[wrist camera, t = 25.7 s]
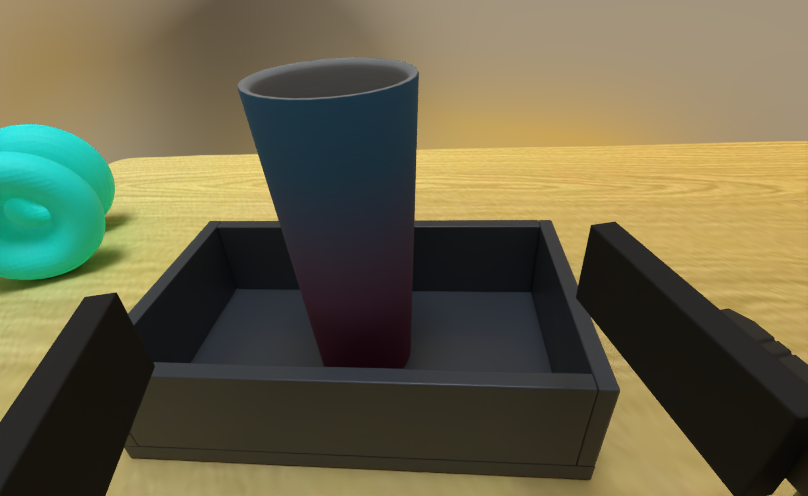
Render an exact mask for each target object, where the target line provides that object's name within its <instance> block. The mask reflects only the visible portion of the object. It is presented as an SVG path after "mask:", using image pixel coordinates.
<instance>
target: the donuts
mask: <svg viewBox="0 0 808 496" xmlns="http://www.w3.org/2000/svg"><path fill="white" fill-rule="evenodd" d="M114 194H115V184H114V178H113V175H112V172H111V170H110V168H109V166H108V164H107V163H106V161H105V160H104V158H103V157H102V156H101V155H100V154H99V153H98V152H97V151H96V150H95V149H94V148H93V147H92V146H91V145H89V144H88V143H87V142H85V141H84V140H82V139H81V138H79V137H77V136H75V135H73V134H71V133H69V132H66V131H63V130H61V129H58V128H54V127H50V126H44V125H35V124H24V125H23V124H22V125H13V126H8V127H4V128H1V129H0V277H2V278H8V279H17V280H36V279H45V278H50V277H54V276H58V275H61V274H64V273H67V272H69V271H72V270H74V269H75V268H77V267H79V266H81V265H82V264H83V263H85V262H86V261H87V260H88V259H89V258H90V257H91V256H92V255H93V254H94V253H95V252H96V251H97V249H98V248H99V246H100V244H101V242H102V240H103V237H104V233H105V227H106V220H105V215H106V214H107V212H108V211H109V209H110V207H111V205H112V202H113V199H114Z"/></svg>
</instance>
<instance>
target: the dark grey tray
mask: <svg viewBox="0 0 808 496" xmlns="http://www.w3.org/2000/svg"><path fill="white" fill-rule="evenodd" d="M577 289H578V285H577V283H576V280H575V278H574V275H573V273H572V270H571V268H570V265H569V263H568V261H567V258H566V256H565V253H564V251H563V248H562V246H561V243H560V241H559V238H558V236H557V233H556V231H555V228H554V226H553V224H552V221H551V220H539V221H538V220H449V221H414V249H413V283H412V318H411V350H410V357H409V359H408V361H407V363H406V365H405V366H404V368H403V369H391V368H354V367H324V364H323V361H322V358H321V355H320V352H319V349H318V345H317V342H316V339H315V336H314V332H313V329H312V326H311V323H310V320H309V316H308V313H307V310H306V307H305V303H304V300H303V297H302V294H301V291H300V287H299V284H298V281H297V278H296V274H295V271H294V268H293V265H292V262H291V258H290V255H289V252H288V249H287V245H286V242H285V239H284V236H283V233H282V229H281V226H280V223H279V221H222V222H221V221H210V222H209V223H208V224H207V225H206V226H205V227H204V229H203V230H202V231H201V232H200V233H199V234H198V235H197V236H196V238H195V239H194V240H193V241H192V242H191V243H190V244H189V246H188V247H187V248H186V249H185V250H184V251H183V252H182V253H181V255H180V256H179V257H178V258H177V259H176V260H175V261H174V262H173V264H172V265H171V266H170V267H169V268H168V269H167V270H166V272H165V273H164V274H163V275H162V276H161V277H160V278H159V279H158V281H157V282H156V283H155V284H154V285H153V286H152V287H151V288H150V290H149V291H148V292H147V293H146V294H145V295H144V296H143V298H142V299H141V300H140V301H139V302H138V303H137V304H136V305H135V307H134V308H133V309H132V310H131V311H130V312H129V313H128V315H129V317H130V319H131V321H132V323H133V325H134V327H135V329H136V331H137V332H138V334H139V336H140V338H141V340H142V342H143V344H144V346H145V348H146V350H147V351H148V353H149V355H150V357H151V359H152V361H153V363H154V365H155V368H154V370H153V373H152V376H151V378H150V381H149V383H148V386H147V389H146V391H145V394H144V396H143V399H142V402H141V404H140V407H139V409H138V412H137V415H136V417H135V420H134V422H133V425H132V428H131V430H130V433H129V435H128V438H127V441H126V443H125V446H124V448H125V449H126V451H127V452H128V454H129V455H130V457H131V458H151V459H172V460H193V461H214V462H235V463H256V464H277V465H298V466H319V467H340V468H362V469H383V470H404V471H425V472H446V473H467V474H488V475H509V476H530V477H551V478H572V479H591V477H592V474H593V471H594V468H595V464H596V461H597V458H598V455H599V452H600V449H601V446H602V443H603V440H604V437H605V434H606V431H607V428H608V425H609V422H610V419H611V416H612V413H613V410H614V408H615V405H616V402H617V399H618V396H619V393H620V389H619V386H618V384H617V381H616V379H615V376H614V374H613V371H612V369H611V366H610V364H609V362H608V359H607V357H606V354H605V352H604V349H603V347H602V344H601V342H600V339H599V337H598V334H597V332H596V330H595V327H594V325H593V322H592V320H591V317H590V315H589V314H588V312H587V311H586V310H585V309H584V307H583V306H582V305H581V304H580V302H579V301H578V300H577V299H576V294H577Z"/></svg>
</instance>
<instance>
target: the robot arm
mask: <svg viewBox="0 0 808 496" xmlns="http://www.w3.org/2000/svg"><path fill="white" fill-rule="evenodd" d="M576 299H577V300H578V301H579V302H580V304H581V305H582V306H583V307H584V309H585V310H586V311H587V312H588V314H589V315H590V316H591V317H592V319H593V320H594V321H595V322H596V324H597V325H598V326H599V327H600V329H601V330H602V331H603V332H604V334H605V335H606V336H607V337H608V339H609V340H610V341H611V343H612V344H613V345H614V346H615V348H616V349H617V350H618V351H619V353H620V354H621V355H622V356H623V358H624V359H625V360H626V361H627V363H628V364H629V365H630V366H631V368H632V369H633V370H634V371H635V373H636V374H637V375H638V376H639V378H640V379H641V380H642V381H643V383H644V384H645V385H646V386H647V388H648V389H649V390H650V391H651V393H652V394H653V395H654V396H655V398H656V399H657V400H658V401H659V403H660V404H661V405H662V406H663V408H664V409H665V410H666V411H667V413H668V414H669V415H670V417H671V418H672V419H673V420H674V422H675V423H676V424H677V425H678V427H679V428H680V429H681V430H682V432H683V433H684V434H685V435H686V437H687V438H688V439H689V440H690V442H691V443H692V444H693V445H694V447H695V448H696V449H697V450H698V452H699V453H700V454H701V455H702V457H703V458H704V459H705V460H706V462H707V463H708V464H709V465H710V467H711V468H712V469H713V470H714V472H715V473H716V474H717V475H718V477H719V478H720V479H721V480H722V482H723V483H724V484H725V485H726V487H727V488H728V489H729V491H730V492H731V493H732V494H733V496H768V495H772V494H773V493H774V491H775V490H776V489H777V488H778V486H779V485H780V484H781V482H782V481H783V480H784V479H785V478H786V479H787V480H788V481H789V482H790V483H791V484H792V485H793V487H794V488H795V489H796V490H797V492H796V493H795V494H794V495H793V496H808V364H806V363H805V362H804V361H803V360H801V359H800V358H799V357H798V356H796V355H792V354H791V351H790V350H789V349H788V348H786V347H785V346H784V345H783V344H781V343H780V342H779V341H775V340H774V337H773V336H771V335H770V334H769V333H768V332H767V331H765V330H764V329H763V328H762V327H760V326H759V325H758V324H757V323H755V322H754V321H752V320H750V319H748V318H746V317H744V316H742V315H740V314H739V313H737V312H735V311H733V310H731V309H723V310H719V309H718V308H717V307H716V306H715V305H713V304H712V303H711V302H710V301H709V300H707V299H706V298H705V297H704V296H703V295H702V294H700V293H699V292H698V291H697V290H696V289H694V288H693V287H692V286H691V285H690V284H689V283H687V282H686V281H685V280H684V279H683V278H681V277H680V276H679V275H678V274H677V273H675V272H674V271H673V270H672V269H671V268H670V267H668V266H667V265H666V264H665V263H664V262H662V261H661V260H660V259H659V258H658V257H656V256H655V255H654V254H653V253H652V252H651V251H649V250H648V249H647V248H646V247H645V246H643V245H642V244H641V243H640V242H639V241H638V240H636V239H635V238H634V237H633V236H632V235H630V234H629V233H628V232H627V231H626V230H624V229H623V228H622V227H621V226H620V225H619V224H617V223H616V222H610V223H603V224H596V225H591V228H590V233H589V238H588V242H587V247H586V252H585V256H584V261H583V266H582V270H581V275H580V280H579V285H578V289H577V294H576ZM154 368H155V365H154V363H153V361H152V359H151V357H150V355H149V353H148V351H147V350H146V348H145V346H144V344H143V342H142V340H141V338H140V336H139V334H138V332H137V331H136V329H135V327H134V325H133V323H132V321H131V319H130V317H129V315H128V313H127V311H126V310H125V308H124V306H123V304H122V302H121V300H120V298H119V296H118V294H117V293H110V294H103V295H96V296H89V297H84V299H83V300H82V302H81V303H80V305H79V306H78V308H77V309H76V311H75V312H74V314H73V315H72V317H71V318H70V320H69V321H68V323H67V324H66V326H65V327H64V329H63V330H62V331H61V333H60V334H59V336H58V337H57V339H56V340H55V342H54V343H53V345H52V346H51V348H50V349H49V351H48V352H47V354H46V355H45V357H44V358H43V360H42V361H41V363H40V364H39V366H38V367H37V368H36V370H35V371H34V373H33V374H32V376H31V377H30V379H29V380H28V382H27V383H26V385H25V386H24V388H23V389H22V391H21V392H20V394H19V395H18V397H17V398H16V400H15V401H14V403H13V404H12V405H11V407H10V408H9V410H8V411H7V413H6V414H5V416H4V417H3V419H2V420H1V422H0V496H105V495H106V493H107V490H108V487H109V485H110V482H111V480H112V477H113V474H114V472H115V469H116V467H117V464H118V461H119V459H120V456H121V454H122V451H123V448H124V446H125V443H126V441H127V438H128V435H129V433H130V430H131V428H132V425H133V422H134V420H135V417H136V415H137V412H138V409H139V407H140V404H141V402H142V399H143V396H144V394H145V391H146V389H147V386H148V383H149V381H150V378H151V376H152V373H153V370H154Z"/></svg>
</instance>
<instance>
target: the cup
mask: <svg viewBox="0 0 808 496" xmlns="http://www.w3.org/2000/svg"><path fill="white" fill-rule="evenodd" d="M418 75H419V72H418V70H417V68H416V67H415V66H413V65H412V64H409V63H406V62H402V61H397V60H390V59H382V58H337V59H336V58H335V59H323V60H314V61H305V62H298V63H292V64H287V65H282V66H278V67H273V68H269V69H266V70H262V71H259V72H257V73H254V74H251V75H249V76H247V77H246V78H244V79H243V80H241V81H240V82H239V84H238V91H239V94H240V97H241V100H242V104H243V106H244V110H245V113H246V116H247V120H248V123H249V126H250V129H251V133H252V136H253V139H254V142H255V146H256V149H257V152H258V155H259V158H260V162H261V165H262V168H263V171H264V175H265V178H266V181H267V184H268V187H269V191H270V194H271V197H272V200H273V204H274V207H275V210H276V213H277V216H278V220H279V223H280V226H281V229H282V233H283V236H284V239H285V242H286V245H287V249H288V252H289V255H290V258H291V262H292V265H293V268H294V271H295V274H296V278H297V281H298V284H299V287H300V291H301V294H302V297H303V300H304V303H305V307H306V310H307V313H308V316H309V320H310V323H311V326H312V329H313V332H314V336H315V339H316V342H317V345H318V349H319V352H320V355H321V358H322V361H323V364H324V367H354V368H391V369H403V368H404V366H405V365H406V363H407V361H408V359H409V357H410V350H411V318H412V283H413V249H414V215H415V181H416V147H417V112H418V79H419V76H418Z"/></svg>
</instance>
